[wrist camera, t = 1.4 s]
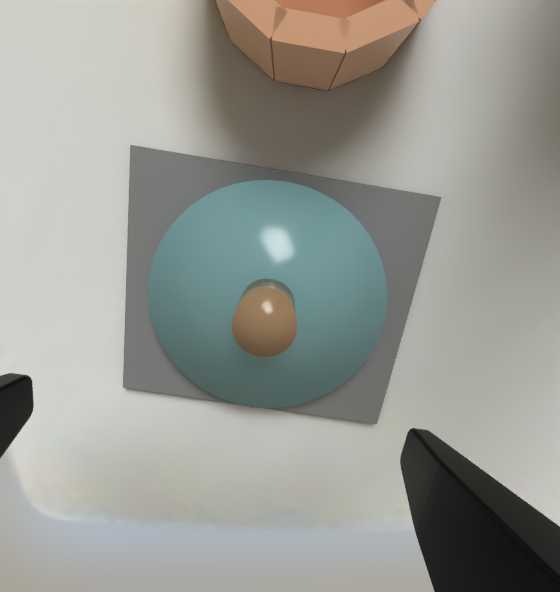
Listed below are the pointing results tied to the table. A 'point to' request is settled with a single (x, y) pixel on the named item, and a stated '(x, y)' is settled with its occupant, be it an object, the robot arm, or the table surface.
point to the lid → (267, 293)
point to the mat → (218, 174)
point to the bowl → (320, 36)
